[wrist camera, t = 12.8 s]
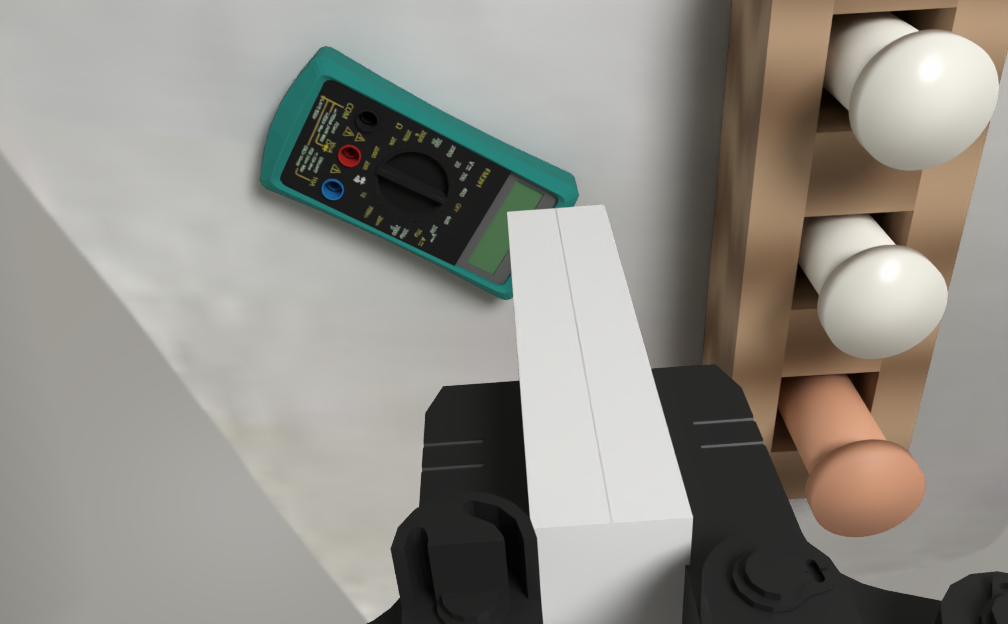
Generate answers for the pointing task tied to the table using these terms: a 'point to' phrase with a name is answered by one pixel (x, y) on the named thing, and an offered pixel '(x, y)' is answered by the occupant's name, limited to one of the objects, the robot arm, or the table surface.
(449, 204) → the digital multimeter
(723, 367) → the board
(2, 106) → the table surface
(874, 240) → the plug mid
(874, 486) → the plug terracotta
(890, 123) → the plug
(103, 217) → the table surface
